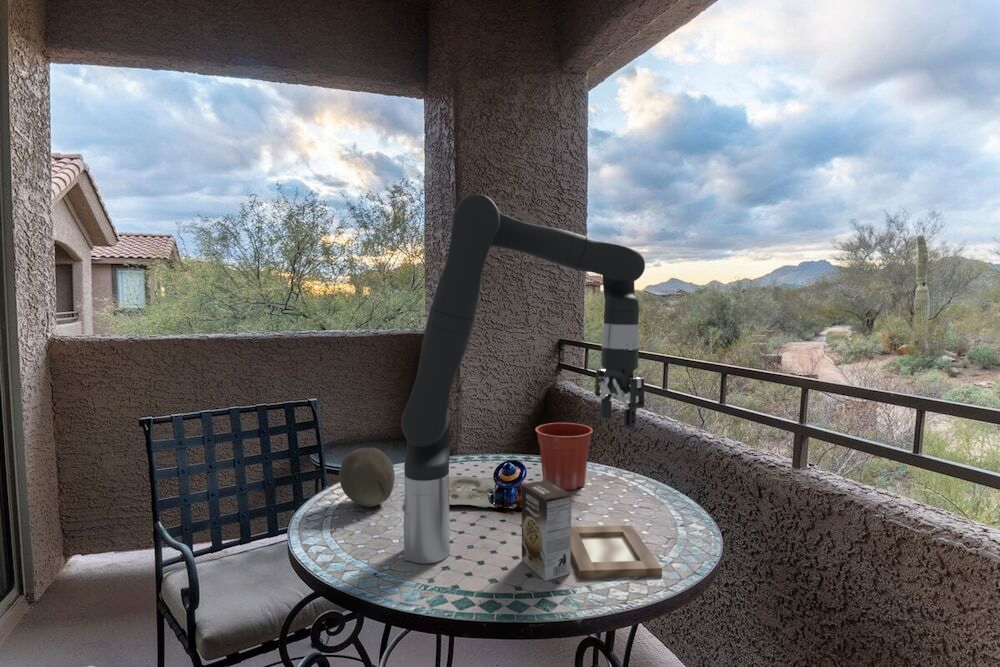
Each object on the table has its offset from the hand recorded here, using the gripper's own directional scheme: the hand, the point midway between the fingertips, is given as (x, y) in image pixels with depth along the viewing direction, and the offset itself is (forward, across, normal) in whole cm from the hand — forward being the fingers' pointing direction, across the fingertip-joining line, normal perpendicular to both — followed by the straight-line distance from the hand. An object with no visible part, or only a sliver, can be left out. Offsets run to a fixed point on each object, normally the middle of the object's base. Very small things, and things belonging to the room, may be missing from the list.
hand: (617, 422), depth 108 cm
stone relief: (+29, -41, -19) cm, 54 cm away
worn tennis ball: (+29, -44, -45) cm, 70 cm away
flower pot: (+28, -40, +10) cm, 50 cm away
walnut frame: (+28, +1, -2) cm, 28 cm away
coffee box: (+28, +1, -16) cm, 33 cm away
